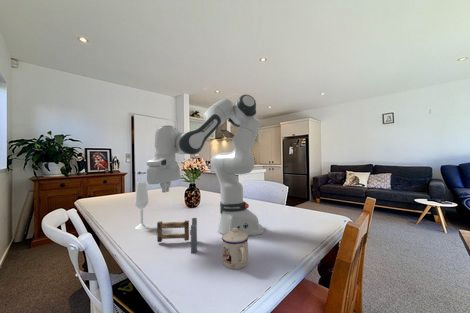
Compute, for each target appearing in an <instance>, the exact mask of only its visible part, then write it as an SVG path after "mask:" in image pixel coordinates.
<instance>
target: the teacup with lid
mask: <svg viewBox="0 0 470 313" xmlns="http://www.w3.org/2000/svg"><path fill="white" fill-rule="evenodd" d="M221 240H222V264H223V266H225V267H226V268H228V269H232V270H239V269H242V268H244V267H246V266H247V265H248V264H249V236H248V235H247V234H246V233H244V232H241V231H239V230H238V228H233V229H232V231H230V232H227V233H225V234H222V237H221Z"/></svg>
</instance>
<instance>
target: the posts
mask: <svg viewBox="0 0 470 313" xmlns="http://www.w3.org/2000/svg"><path fill="white" fill-rule="evenodd" d="M189 236H190V253H191V254H196V253H197V251H198V219H197V217H192V218H191V225H190V229H189Z"/></svg>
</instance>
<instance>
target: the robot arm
mask: <svg viewBox="0 0 470 313" xmlns="http://www.w3.org/2000/svg"><path fill="white" fill-rule="evenodd" d="M256 114H257V102H256V100H255V98H254V97H253V96H251V95H250V94H242V95H241V96H240V97H239V98H238V99H237V101H236V103H233V101H231V100H230V99H228V98H221V99H220V100H218V101H216V102H215V103H213V104H212V105H211V106H210V107H209V108H207V109H206V111H205V112H204V113H203V114H202V115H203V121H204V122H203V123H201V125H199V126H198V127H197V128H195V130H190V131H188V132H185V133H183V132H181V131H180V130H178V129H176V128H175V127H174V126H173V125H162V126H160V127H157V128H156V130H155V133H154V147H155V152H154V157H153V158H151V159H149V160H146V161H147V162H146V166H148V167H147V169H146V183H147V185H159V186H160V188H161V192H162V193H167V192H170V188H171V184H172V182H174V181H179V180H180V179H181V168H180V166H179V163H178V162H177V161H176V154H177V155H178V154H179V155H196V154H199V153H200V152H201V150H202V149H203V148H204V145H205V144H206V141H207V140H208V139H209V138H210V136H211V135H212V134H213V133H214V132H215V131H216V130H217V128H219V127H221V126H222V125H223V124H224V123H225V122H226V121H228V122H229V123H230V124H231V125H233V126H234V127H237V130H236V132H235V134H234V135H233V136H232V138H231V145H232V147H233V150H232V151H228V152H227V151H226V152H219V153H217V154H214V155H213V156H212V157H211V159H210V168H211V169H212V171H213V172H214V173H215V175H216V177H217V179H218V183H219V188H220V201H219V202H220V203H219V212H220V218H219V225H218V230H217V231H218V233H219V234H221V235H224V234H225V233H227V232H230V231H232V229H233V228H238V230H239V231H241V232H244V233H246V234H247V235H248V237H249V236H256V235H262V234H264V232H265V229H264V226H263V225H262V224H260V223H259V219H258V216H257V215H256V214H255V213H253V212H252V211H251V210H249V207H250V206H249V203H247V202H246V201H245V200H244V188H243V184H242V183H241V182H239V181H238V179H237V176H236V175H245V174H246V175H247V174H249V173H251V172H252V171H253V170H254V168H255V163H256V162H255V159H254V156H253V155H252V154H251V153H252V152H251V150H252V148H253V145H254V143H255V140H256V139H257V136H258V134H259V131H260V123H259V120H257V119H256V118H255V115H256Z"/></svg>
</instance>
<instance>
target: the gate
mask: <svg viewBox="0 0 470 313" xmlns="http://www.w3.org/2000/svg"><path fill="white" fill-rule="evenodd" d="M189 226H190V220H184V221H172V222H171V221H170V222H167V221H166V222H163V221H162V220H161V221H157V223H156V229H157V230H156V233H157V234H156V235H157V237H156V238H157V243H162V241H163V240H168V239H169V240H170V239H184V241H185V242H186V241H189V240H190V227H189ZM181 228H182V229H183V228H184V233H167V234H166V233H165V234H164V233H163V229H181Z"/></svg>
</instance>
